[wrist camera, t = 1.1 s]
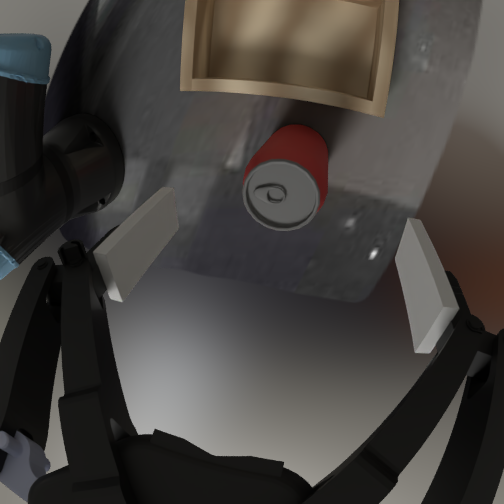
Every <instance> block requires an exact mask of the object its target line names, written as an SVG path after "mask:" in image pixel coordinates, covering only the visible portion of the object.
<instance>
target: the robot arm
mask: <svg viewBox="0 0 504 504" xmlns="http://www.w3.org/2000/svg"><path fill="white" fill-rule="evenodd" d="M50 56H51V43H50V41H49V40H48V39H47V38H46V37H45V36H43V35H38V34H23V33H21V34H18V33H17V34H16V33H13V34H12V33H11V34H0V279H2V278H3V277H5V276H6V275H7V274H8V273H9V272H10V271H12V270H13V269H14V268H17V267H18V266H19V265H20V264H21V263H22V261H24V259H26V258H27V257H28V256H29V255H30V254H31V253H32V252H33V251H34V250H35V249H36V248H37V247H38V246H39V245H41V244H42V243H43V242H44V241H45V240H46V239H47V238H48V237H49V236H51V235H52V234H53V233H54V232H55V231H56V230H58V229H59V228H60V227H61V226H62V225H63V224H65V223H66V222H67V221H68V220H70V219H73V218H76V217H80V216H83V215H87V214H90V213H94V212H97V211H99V210H101V209H103V208H104V207H106V206H107V205H108V204H110V203H111V202H112V201H113V200H114V199H115V198H116V197H117V195H118V194H119V192H120V190H121V187H122V184H123V179H124V163H123V157H122V153H121V149H120V146H119V144H118V142H117V140H116V138H115V136H114V134H113V133H112V131H111V130H110V128H109V127H108V126H107V125H106V124H105V123H104V122H103V121H102V120H100V119H99V118H97V117H95V116H93V115H90V114H85V113H81V114H76V115H73V116H70V117H68V118H65V119H63V120H62V121H60V122H59V123H57V124H56V125H55V126H54V127H53V128H52V129H51V130H50V131H49V132H48V133H47V134H46V135H45V136H44V137H43V123H44V107H45V97H46V89H47V84H48V83H49V81H50V77H49V76H48V74H49V65H50ZM178 229H179V225H178V218H177V210H176V202H175V194H174V188H168V187H162V188H161V189H160V190H158V191H157V192H156V193H155V194H154V195H153V196H152V197H150V198H149V199H148V200H147V201H146V202H145V203H144V204H143V205H141V206H140V207H139V208H138V209H137V210H136V211H135V212H134V213H133V214H132V215H130V216H129V217H128V218H127V219H126V220H125V221H124V222H123V223H122V224H121V225H118V226H116V227H114V228H113V229H111V230H110V231H109V232H108V233H107V234H105V236H104V237H102V238H101V239H100V241H98V242H97V243H96V244H95V245H94V246H93V247H92V248H91V249H90V250H89V251H88V252H87V253H86V251H85V248H84V245H83V242H82V241H81V240H77V239H75V240H70V241H68V242H66V243H64V244H63V245H62V246H61V247H60V248H59V250H58V254H59V256H60V259H61V261H62V264H63V265H55V263H54V261H53V259H52V258H51V257H44V258H41V259H39V260H38V261H37V262H36V263H35V264H34V265H33V266H32V268H31V270H30V272H29V274H28V276H27V278H26V280H25V283H24V285H23V287H22V289H21V291H20V294H19V296H18V298H17V300H16V303H15V305H14V308H13V310H12V313H11V315H10V318H9V320H8V323H7V326H6V328H5V331H4V334H3V337H2V339H1V342H0V481H1V482H2V483H3V484H4V485H6V486H7V487H8V488H9V489H10V490H12V491H13V492H14V493H16V494H17V495H18V496H19V497H21V498H22V499H23V500H25V501H26V502H28V504H379V503H380V502H381V501H382V500H383V499H384V498H385V497H386V496H387V495H388V493H389V492H390V491H391V490H392V489H393V487H394V486H395V485H396V483H397V482H398V476H399V474H400V473H401V472H402V471H403V469H404V468H405V467H406V466H407V465H408V463H409V462H410V461H411V459H412V458H413V457H414V456H415V454H416V453H417V452H418V450H419V449H420V448H421V447H422V445H423V444H424V442H425V441H426V439H427V438H428V437H429V435H430V434H431V433H432V431H433V430H434V428H435V427H436V425H437V423H438V422H439V421H440V419H441V418H442V416H443V414H444V413H445V411H446V409H447V408H448V406H449V405H450V403H451V401H452V399H453V398H454V396H455V394H456V392H457V391H458V389H459V387H460V385H461V383H462V382H463V380H464V378H465V376H466V375H467V380H466V384H465V388H464V392H463V396H462V400H461V404H460V407H459V411H458V414H457V418H456V421H455V424H454V427H453V430H452V433H451V436H450V439H449V442H448V445H447V447H446V450H445V453H444V455H443V458H442V460H441V462H440V465H439V467H438V470H437V472H436V474H435V476H434V479H433V481H432V483H431V485H430V487H429V490H428V491H427V493H426V495H425V497H424V499H423V501H422V503H421V504H492V503H493V500H494V497H495V494H496V491H497V488H498V486H499V482H500V479H501V476H502V472H503V469H504V329H502V330H500V331H499V333H498V334H497V335H494V334H492V333H489V332H487V331H485V327H484V325H483V323H482V321H481V320H480V319H479V318H477V317H476V316H474V315H471V313H470V310H469V308H468V305H467V303H466V300H465V298H464V295H462V294H463V293H462V290H461V288H460V286H459V283H458V281H457V279H456V278H455V276H454V275H453V274H452V273H451V272H450V271H444V269H443V266H442V264H441V262H440V260H439V258H438V255H437V253H436V251H435V249H434V247H433V245H432V242H431V240H430V238H429V236H428V234H427V232H426V230H425V228H424V226H423V224H422V222H421V220H418V219H413V218H408V220H407V223H406V226H405V229H404V233H403V236H402V239H401V242H400V245H399V248H398V251H397V254H396V257H395V262H396V265H397V269H398V272H399V277H400V281H401V285H402V289H403V293H404V298H405V302H406V307H407V311H408V317H409V322H410V327H411V332H412V338H413V344H414V350H415V352H416V353H430V352H431V351H432V349H433V348H434V347H435V345H436V347H437V354H436V355H435V356H434V358H433V359H432V360H431V361H430V363H429V364H428V365H427V368H426V369H425V371H424V372H423V373H422V375H421V376H420V377H419V379H418V380H417V382H416V383H415V384H414V385H413V387H412V388H411V389H410V391H409V392H408V393H407V394H406V396H405V397H404V398H403V399H402V400H401V402H400V403H399V404H398V405H397V407H396V408H395V409H394V410H393V411H392V412H391V414H390V415H389V416H388V417H387V418H386V419H385V420H384V421H383V423H382V424H381V425H380V426H379V427H378V428H377V429H376V430H375V431H374V432H373V433H372V434H371V435H370V437H369V438H368V439H367V440H366V441H365V442H364V443H363V444H362V445H361V446H360V447H359V448H358V449H357V450H355V451H354V452H353V453H352V454H351V455H350V456H349V457H348V458H347V459H346V460H345V461H344V462H343V463H342V464H341V465H339V467H337V468H336V469H335V470H333V471H332V472H331V473H330V474H328V475H327V476H326V477H325V478H324V479H322V480H321V481H320V482H318V483H317V484H316V485H315V486H314V487H311V486H310V484H309V483H308V482H307V481H306V480H305V479H303V478H302V477H300V476H299V475H298V474H296V473H295V472H292V471H291V470H289V469H286V468H284V467H283V465H284V462H282V461H275V460H269V459H263V458H258V457H253V456H214V455H211V454H209V453H208V452H206V451H204V450H202V449H200V448H199V447H197V446H195V445H194V444H192V443H190V442H188V441H187V440H185V439H183V438H180V437H177V436H174V435H171V434H168V433H165V432H162V431H160V430H157V429H155V430H154V433H153V435H152V434H143V435H138V433H137V431H136V429H135V427H134V425H133V423H132V421H131V419H130V416H129V413H128V410H127V406H126V402H125V399H124V395H123V391H122V387H121V383H120V379H119V375H118V371H117V366H116V362H115V358H114V353H113V347H112V342H111V337H110V331H109V325H108V319H107V313H106V305H105V300H104V297H103V294H104V292H105V291H106V290H107V292H108V294H109V297H110V299H113V300H116V301H120V302H123V301H124V300H125V299H126V297H127V296H128V294H129V293H130V292H131V290H132V289H133V288H134V286H135V285H136V283H137V282H138V281H139V279H140V278H141V277H142V275H143V274H144V273H145V271H146V270H147V269H148V267H149V266H150V265H151V264H152V262H153V261H154V260H155V258H156V257H157V256H158V254H159V253H160V252H161V251H162V249H163V248H164V247H165V245H166V244H167V243H168V242H169V240H170V239H171V238H172V237H173V235H174V234H175V233H176V232H177V230H178ZM46 300H47V303H46ZM60 347H61V351H62V369H63V381H64V391H65V394H64V396H63V397H60V398H59V400H58V407H59V415H60V422H61V429H62V434H63V440H64V445H65V451H66V455H67V460H68V464H69V465H67V466H65V467H63V468H61V469H58V470H56V471H53V472H51V473H48V474H46V472H47V471H48V470H49V469H50V462H49V460H48V459H47V458H46V456H45V453H44V450H45V447H46V441H47V437H48V429H49V419H50V409H51V401H52V393H53V386H54V379H55V373H56V368H57V362H58V357H59V352H60Z"/></svg>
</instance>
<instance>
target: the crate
mask: <svg viewBox="0 0 504 504" xmlns="http://www.w3.org/2000/svg"><path fill="white" fill-rule="evenodd" d="M398 9H399V0H186V1H185V12H184V24H183V38H182V54H181V78H180V91H215V92H233V93H247V94H257V95H267V96H275V97H283V98H290V99H297V100H304V101H310V102H315V103H321V104H326V105H331V106H336V107H341V108H346V109H350V110H354V111H359V112H363V113H367V114H371V115H375V116H378V117H382V118H384V114H385V108H386V103H387V97H388V92H389V86H390V79H391V73H392V66H393V58H394V51H395V42H396V33H397V22H398Z"/></svg>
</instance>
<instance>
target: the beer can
mask: <svg viewBox="0 0 504 504" xmlns="http://www.w3.org/2000/svg"><path fill="white" fill-rule="evenodd" d="M242 193H243V201H244V204H245V206H246V208H247V210H248V212H249V213H250V214H251V216H252V217H253V218H254V219H255V220H256V221H257V222H259V223H260V224H262V225H264V226H265V227H268V228H271V229H274V230H277V231H290V230H294V229H299V228H301V227H302V226H304V225H306V224H307V223H309V222H310V221H311V220H312V218H313V217H314V216H315V215H316V213H317V212H318V211H319V210H320V208H321V207H322V206H323V204H324V201H325V198H326V196H327V193H328V149H327V146H326V143H325V141H324V140H323V138H322V137H321V136H320V134H319V133H318V132H316V131H315V130H313V129H312V128H310V127H307V126H304V125H288V126H285V127H282V128H280V129H279V130H277V131H276V132H275V133H273V135H272V136H271V137H270V138H269V139H268V140H267V141H266V142H265V144H264V145H263V146H262V147H261V148H260V149H259V150H258V151H257V153H256V154H255V155H254V156H253V157H252V159H251V160H250V162H249V164H248V165H247V167H246V170H245V174H244V179H243V190H242Z"/></svg>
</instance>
